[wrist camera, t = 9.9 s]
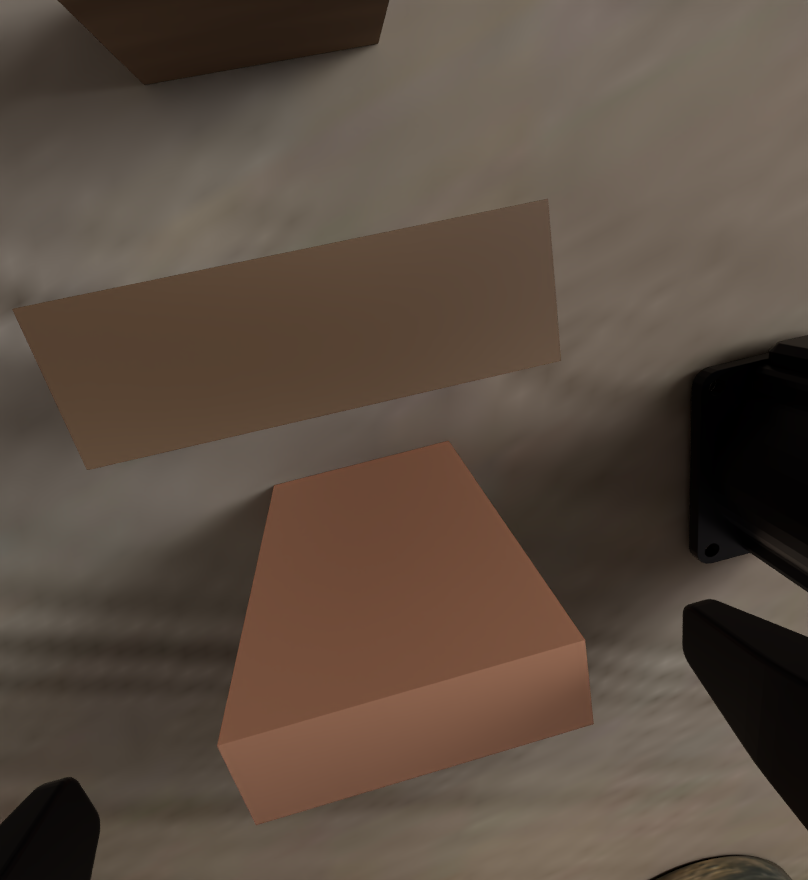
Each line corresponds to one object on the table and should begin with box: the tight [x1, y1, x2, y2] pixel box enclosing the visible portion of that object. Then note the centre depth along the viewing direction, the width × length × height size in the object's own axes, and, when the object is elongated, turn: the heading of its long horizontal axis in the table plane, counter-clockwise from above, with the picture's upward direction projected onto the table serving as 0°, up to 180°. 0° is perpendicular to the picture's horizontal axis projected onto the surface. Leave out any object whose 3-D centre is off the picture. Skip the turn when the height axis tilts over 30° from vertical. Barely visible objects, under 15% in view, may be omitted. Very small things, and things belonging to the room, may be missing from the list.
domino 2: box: [217, 441, 594, 825], centre depth 11 cm, size 2×5×8 cm, turn 102°
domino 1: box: [12, 199, 561, 470], centre depth 9 cm, size 2×5×8 cm, turn 101°
